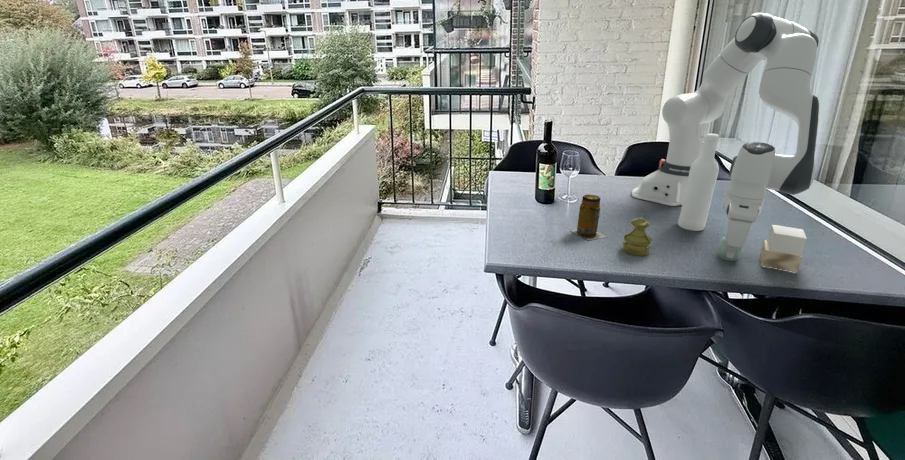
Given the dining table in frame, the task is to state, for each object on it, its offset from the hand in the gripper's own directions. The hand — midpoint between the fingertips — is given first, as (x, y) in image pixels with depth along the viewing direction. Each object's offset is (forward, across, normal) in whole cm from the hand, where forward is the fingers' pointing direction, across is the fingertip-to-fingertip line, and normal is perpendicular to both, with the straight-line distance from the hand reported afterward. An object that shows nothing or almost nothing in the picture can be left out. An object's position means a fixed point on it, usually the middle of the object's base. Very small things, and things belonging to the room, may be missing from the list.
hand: (730, 251), depth 128 cm
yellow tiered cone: (+2, +10, -23) cm, 25 cm away
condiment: (+2, +5, -38) cm, 39 cm away
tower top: (-3, -2, +12) cm, 12 cm away
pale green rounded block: (+2, 0, 0) cm, 2 cm away
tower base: (+2, -2, +12) cm, 12 cm away
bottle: (+2, -19, -11) cm, 22 cm away
